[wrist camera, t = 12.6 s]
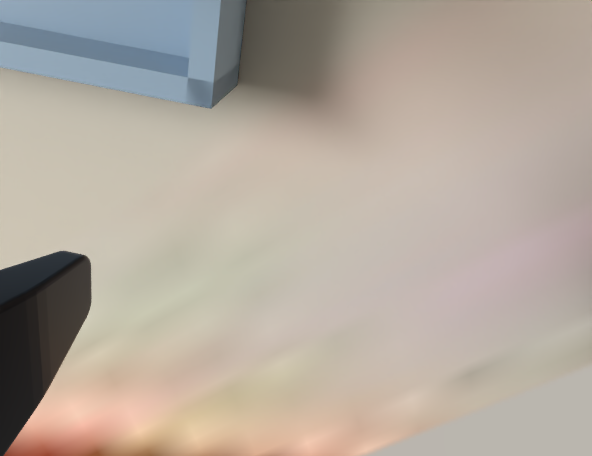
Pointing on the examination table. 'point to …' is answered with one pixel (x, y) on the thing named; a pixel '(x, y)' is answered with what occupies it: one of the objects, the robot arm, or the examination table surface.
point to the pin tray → (129, 44)
